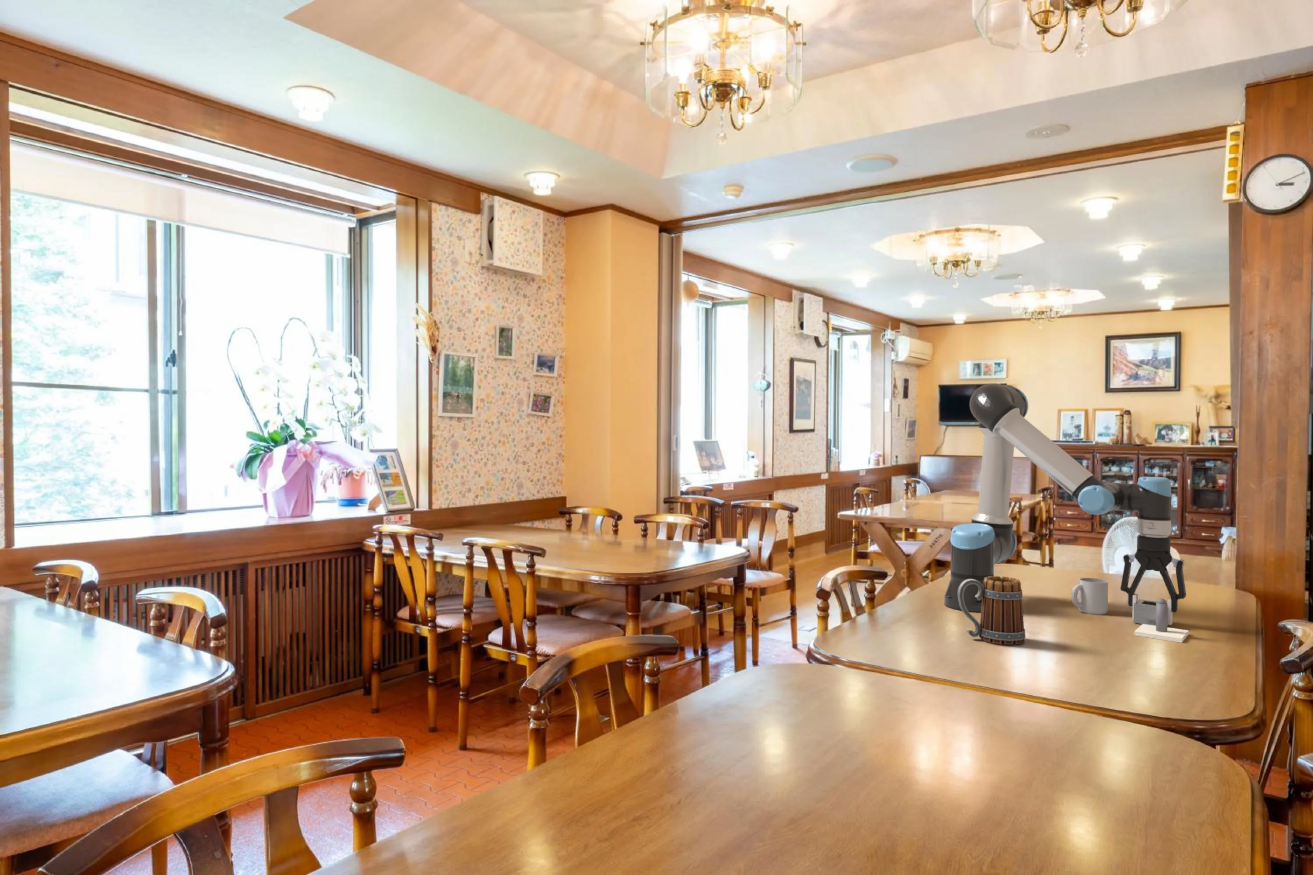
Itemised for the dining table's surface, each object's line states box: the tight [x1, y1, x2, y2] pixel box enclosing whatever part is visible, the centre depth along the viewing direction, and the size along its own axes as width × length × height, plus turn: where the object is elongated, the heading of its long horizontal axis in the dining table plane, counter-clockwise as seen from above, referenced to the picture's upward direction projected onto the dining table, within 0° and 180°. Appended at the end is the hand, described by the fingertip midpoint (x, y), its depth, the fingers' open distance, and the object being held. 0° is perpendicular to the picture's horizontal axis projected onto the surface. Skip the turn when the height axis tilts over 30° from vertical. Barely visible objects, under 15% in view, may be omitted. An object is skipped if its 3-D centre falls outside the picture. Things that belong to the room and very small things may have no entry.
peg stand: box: [1134, 597, 1190, 643], centre depth 198 cm, size 10×10×9 cm
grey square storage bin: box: [1133, 598, 1169, 627], centre depth 210 cm, size 7×7×5 cm
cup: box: [1070, 577, 1109, 616], centre depth 223 cm, size 7×10×9 cm
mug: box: [958, 575, 1026, 647], centre depth 194 cm, size 16×11×15 cm
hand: (1152, 621), depth 210 cm, fingers closed on grey square storage bin, 7 cm apart
